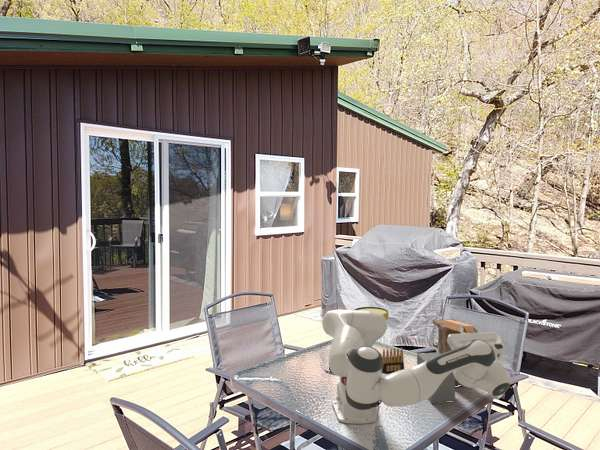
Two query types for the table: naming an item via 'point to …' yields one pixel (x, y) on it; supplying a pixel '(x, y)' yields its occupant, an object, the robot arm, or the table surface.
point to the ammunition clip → (392, 361)
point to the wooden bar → (458, 326)
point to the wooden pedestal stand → (444, 337)
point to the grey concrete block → (446, 387)
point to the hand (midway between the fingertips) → (466, 326)
